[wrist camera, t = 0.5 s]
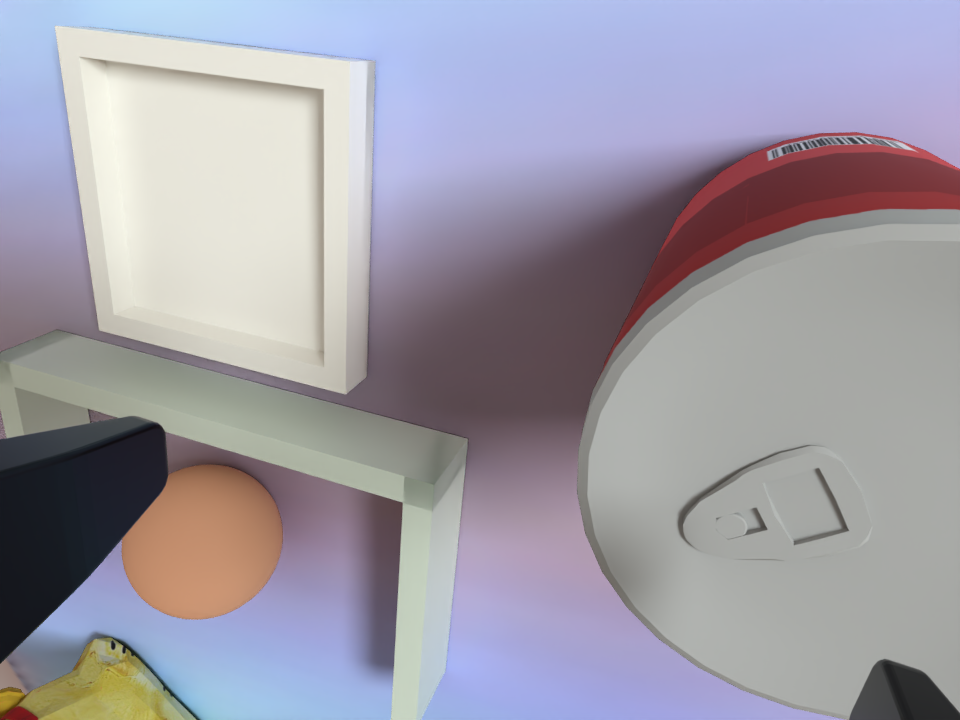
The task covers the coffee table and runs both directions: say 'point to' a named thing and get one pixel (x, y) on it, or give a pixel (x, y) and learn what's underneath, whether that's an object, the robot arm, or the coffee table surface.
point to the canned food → (792, 425)
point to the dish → (226, 198)
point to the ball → (204, 543)
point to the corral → (274, 461)
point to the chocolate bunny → (97, 691)
